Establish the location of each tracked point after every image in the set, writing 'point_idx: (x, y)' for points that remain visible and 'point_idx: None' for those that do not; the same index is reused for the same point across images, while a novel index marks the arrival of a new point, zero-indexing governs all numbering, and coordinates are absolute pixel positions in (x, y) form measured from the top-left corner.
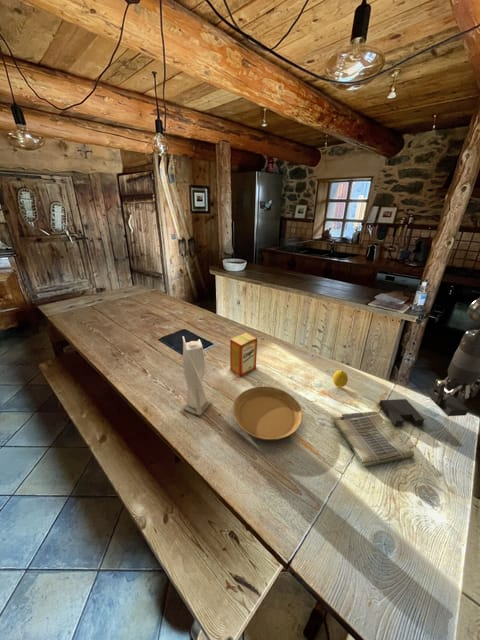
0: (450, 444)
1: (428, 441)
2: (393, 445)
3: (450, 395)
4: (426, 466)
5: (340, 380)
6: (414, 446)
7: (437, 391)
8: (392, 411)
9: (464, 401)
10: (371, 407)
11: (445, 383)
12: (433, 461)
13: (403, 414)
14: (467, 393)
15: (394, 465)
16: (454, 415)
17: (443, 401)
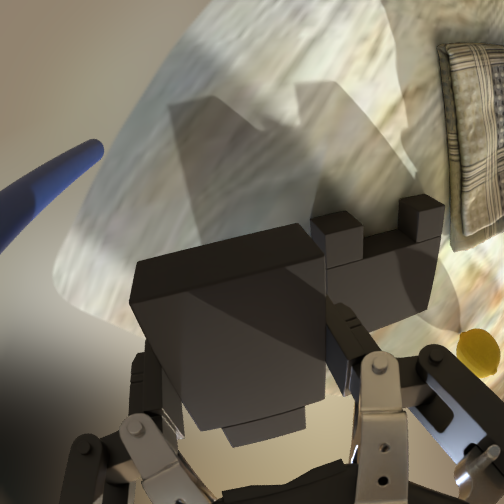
0: (234, 105)
1: (338, 116)
2: (491, 90)
3: (210, 413)
4: (405, 5)
5: (494, 342)
6: (407, 91)
7: (418, 407)
8: (428, 258)
9: (131, 383)
10: (439, 275)
11: (488, 490)
12: (371, 17)
13: (399, 250)
14: (169, 481)
15: (482, 36)
16: (246, 237)
17: (354, 339)
